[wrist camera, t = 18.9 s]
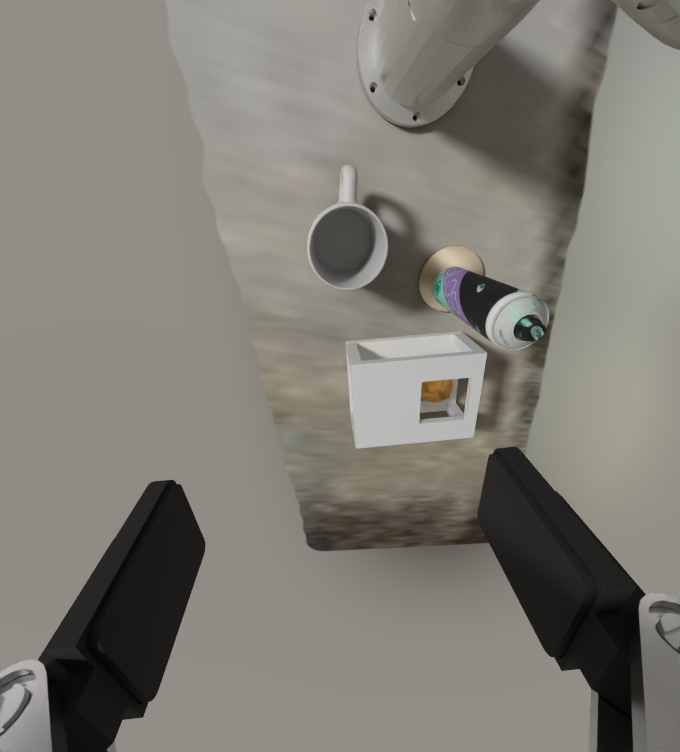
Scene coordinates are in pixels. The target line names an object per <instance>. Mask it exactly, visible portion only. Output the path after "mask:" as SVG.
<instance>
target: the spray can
mask: <svg viewBox="0 0 680 752" xmlns="http://www.w3.org/2000/svg"><path fill="white" fill-rule="evenodd" d="M432 294H433V297H434V298H435V300H436V301H437V302H438V303H440V304H441V305H442V306H444V307H445V308H446V309H448V310H449V311H450V312H452V313H453V314H454V315H456V316H457V317H458V318H460V319H461V320H463V321H464V322H465V323H467V324H468V325H469V326H471V327H472V328H473V329H475V330H476V331H477V332H479V333H480V334H481V335H483V336H484V337H485V338H487V339H488V340H490V341H491V342H492V343H494V344H495V345H497V346H498V347H501V348H503V349H506V350H512V351H513V350H520V349H524V348H526V347H528V346H530V345H531V344H533V343H534V342H536V341H537V340H538V339H539V338H540V337H542V336H543V335H544V333H545V331H546V327H547V325H548V321H549V310H548V307H547V305H546V304H545V302H544V301H543V300H541V299H540V298H538V297H537V296H535V295H533V294H531V293H528V292H525V291H522V290H520V289H517V288H514V287H512V286H509V285H506V284H504V283H501V282H498V281H496V280H493V279H490V278H488V277H485V276H482V275H479V274H477V273H474V272H471V271H469V270H466V269H463V268H461V267H456V266H452V267H447V268H445V269H443V270H442V271H441V272H439V273H438V274H437V276H436V277H435V279H434V281H433V284H432Z"/></svg>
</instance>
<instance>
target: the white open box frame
mask: <svg viewBox="0 0 680 752" xmlns="http://www.w3.org/2000/svg"><path fill="white" fill-rule="evenodd" d="M346 353H347V368H348V383H349V398H350V413H351V421H352V428H353V434H354V440H355V447H356V448H367V447H377V446H388V445H398V444H408V443H419V442H429V441H440V440H450V439H461V438H471V437H474V432H475V425H476V419H477V413H478V407H479V401H480V394H481V388H482V382H483V376H484V370H485V363H486V357H487V352H486V351H484V350H483V349H482V348H481V347H480V346H478V345H477V344H476V343H475V342H474V341H472V340H471V339H470V338H469V337H468V336H466V335H465V334H464V333H463V332H462V331H457V332H446V333H434V334H423V335H412V336H400V337H389V338H378V339H367V340H355V341H346ZM460 378H469V381H468V388H467V395H466V403H465V410H464V414H463V412H462V411H461V409H460V408H459V407H458V405H457V404H456V394H457V386H458V379H460ZM449 379H451V380H452V383H453V389H452V392H451V394H450V395H449V396H448V397H447V398H446V399H444V400H443V401H440V402H436V403H431V402H427V401H425V400H424V399H423V398H422V396H421V385H422V382H428V381H438V380H449ZM436 411H447V413H448V414H449V416H450V417H442V418H431V419H421V420H420V413H426V412H436Z"/></svg>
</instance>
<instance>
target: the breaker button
mask: <svg viewBox="0 0 680 752" xmlns="http://www.w3.org/2000/svg"><path fill="white" fill-rule="evenodd" d="M452 389H453V383H452V380H451V379H449V380H438V381H428V382H422V385H421V396H422V398H423V399H424V400H425V401H427V402H431V403H436V402H440V401H443V400H444V399H446V398H447V397H448V396H449V395H450V394H451V392H452Z"/></svg>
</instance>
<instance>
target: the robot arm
mask: <svg viewBox="0 0 680 752" xmlns="http://www.w3.org/2000/svg"><path fill="white" fill-rule="evenodd" d="M539 1H540V0H370V1H369V3H368V5H367V7H366V10H365V13H364V16H363V19H362V23H361V27H360V32H359V39H358V48H357V54H358V69H359V74H360V80H361V83H362V86H363V89H364V92H365V94H366V96H367V98H368V99H369V101H370V103H371V105H372V106H373V107H374V108H375V110H376V111H377V112H378V113H379V114H380V115H381V116H382V117H383V118H385V119H386V120H387V121H389V122H391V123H393V124H395V125H398V126H402V127H420V126H424V125H427V124H429V123H431V122H433V121H435V120H437V119H438V118H440V117H441V116H442V115H444V114H445V113H446V112H447V111H448V110H449V109H450V108H451V107H452V106H453V105H454V104H455V103H456V101H457V100H458V99H459V98H460V96H461V95H462V93H463V91H464V90H465V88H466V86H467V84H468V82H469V79H470V77H471V74H472V72H473V69H474V65H475V64H476V63H477V62H478V61H479V60H480V59H482V58H483V57H484V56H485V55H486V54H487V53H488V52H489V51H490V50H491V49H492V48H493V47H494V46H495V45H496V44H497V43H498V42H499V41H501V40H502V39H503V38H504V37H505V36H506V35H507V34H508V33H509V32H510V31H511V30H512V29H513V28H514V27H515V26H516V25H517V24H519V22H520V21H521V20H522V19H523V18H524V17H526V16H527V15H528V14H529V12H530V11H531V10H532V9H533V8H534V7H535V6H536V4H537V3H538V2H539ZM612 1H613V2H614V3H615V4H616V5H617V6H618V7H619V8H621V9H622V10H623V11H624V12H625V13H626V14H627V15H628V16H629V17H631V18H632V19H633V20H634V21H635V22H636V23H637V24H639V25H640V26H642V27H643V28H644V29H645V30H646V31H647V32H648V33H650V34H651V35H652V36H653V37H655V38H656V39H658V40H659V41H661V42H662V43H664V44H665V45H668V46H670V47H672V48H675V49H679V50H680V0H612ZM369 17H373V19H374V21H370V20H369ZM457 81H458V82H460V86H458V84H457ZM371 88H374V90H375V91H374V92H371V90H370V89H371ZM413 116H415V117H416V121H414V120H413ZM478 521H479V524H480V526H481V528H482V530H483V532H484V534H485V536H486V538H487V540H488V542H489V544H490V546H491V547H492V549H493V551H494V553H495V555H496V557H497V559H498V561H499V563H500V565H501V567H502V569H503V571H504V573H505V575H506V576H507V579H508V580H509V582H510V584H511V586H512V588H513V590H514V592H515V594H516V596H517V598H518V600H519V602H520V604H521V606H522V608H523V609H524V612H525V613H526V615H527V617H528V619H529V621H530V623H531V625H532V627H533V629H534V631H535V633H536V635H537V637H538V639H539V641H540V642H541V645H542V646H543V648H544V650H545V651H546V653H547V654H548V655H549V656H551V657H555V659H556V661H557V663H558V665H559V667H560V669H561V670H562V671H564V670H574V669H580V670H581V672H582V673H583V675H584V677H585V679H586V680H587V682H588V684H589V686H590V687H591V707H590V731H589V752H680V598H677V597H674V596H671V595H668V594H662V593H651V594H647V595H646V594H645V593H644V592H643V591H642V590H641V588H640V587H639V586H638V585H637V584H636V583H635V582H634V580H633V579H632V578H631V577H630V576H629V574H628V573H627V572H626V571H625V570H624V569H623V567H622V566H621V565H620V564H619V563H618V562H617V560H616V559H615V558H614V557H613V556H612V554H611V553H610V552H609V551H608V550H607V549H606V547H605V546H604V545H603V544H602V543H601V542H600V540H599V539H598V538H597V537H596V536H595V535H594V533H593V532H592V531H591V530H590V529H589V528H588V527H587V525H586V524H585V523H584V522H583V521H582V519H580V517H579V516H578V515H577V514H576V513H575V511H574V510H573V509H572V508H571V507H570V505H569V504H568V503H567V502H566V501H565V500H564V498H563V497H562V496H561V495H560V494H559V493H558V492H556V491H554V490H553V488H552V487H551V486H550V485H549V484H548V482H547V481H546V480H545V479H544V478H543V477H542V475H541V474H540V473H539V472H538V471H537V469H536V468H535V467H534V466H533V465H532V463H531V462H530V461H529V460H528V459H527V458H526V456H525V455H524V454H523V453H522V452H521V450H519V449H518V448H517V447H508V448H498V449H495V450H494V453H493V454H490V455H489V458H488V463H487V468H486V473H485V478H484V483H483V488H482V493H481V498H480V503H479V508H478ZM204 552H205V541H204V538H203V535H202V533H201V531H200V529H199V526H198V524H197V521H196V519H195V517H194V514H193V512H192V509H191V507H190V505H189V502H188V500H187V498H186V495H185V493H184V491H183V488H182V486H181V485H180V484H176V482H175V481H173V480H166V481H155V482H151V483H150V484H149V485H148V486H147V488H146V489H145V491H144V493H143V494H142V496H141V498H140V499H139V501H138V502H137V504H136V505H135V507H134V509H133V510H132V512H131V513H130V515H129V517H128V518H127V520H126V522H125V523H124V525H123V526H122V528H121V530H120V531H119V533H118V534H117V536H116V537H115V539H114V540H113V541H112V543H111V544H110V546H109V547H108V549H107V551H106V552H105V554H104V555H103V557H102V559H101V560H100V562H99V563H98V565H97V567H96V568H95V570H94V571H93V573H92V575H91V576H90V578H89V579H88V581H87V583H86V584H85V586H84V587H83V589H82V590H81V592H80V594H79V595H78V597H77V599H76V600H75V602H74V603H73V605H72V606H71V608H70V610H69V611H68V613H67V614H66V616H65V618H64V619H63V621H62V622H61V624H60V626H59V627H58V629H57V631H56V632H55V634H54V635H53V637H52V638H51V640H50V642H49V643H48V645H47V646H46V648H45V650H44V651H43V653H42V654H41V656H40V657H39V659H38V660H24V661H21V662H19V663H15V664H13V665H11V666H10V667H8V668H6V669H4V670H2V671H1V672H0V752H116V747H115V742H114V740H115V738H116V735H117V732H118V730H119V727H120V725H121V722H122V720H124V719H133V718H142V717H143V716H144V713H145V710H146V707H147V705H148V702H149V701H152V700H153V699H154V698H155V696H156V694H157V692H158V689H159V687H160V683H161V681H162V678H163V675H164V672H165V669H166V666H167V663H168V660H169V657H170V654H171V651H172V648H173V645H174V642H175V639H176V636H177V633H178V630H179V627H180V624H181V621H182V618H183V615H184V612H185V609H186V606H187V603H188V600H189V597H190V594H191V591H192V588H193V585H194V582H195V579H196V576H197V574H198V571H199V567H200V565H201V562H202V559H203V556H204Z"/></svg>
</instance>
